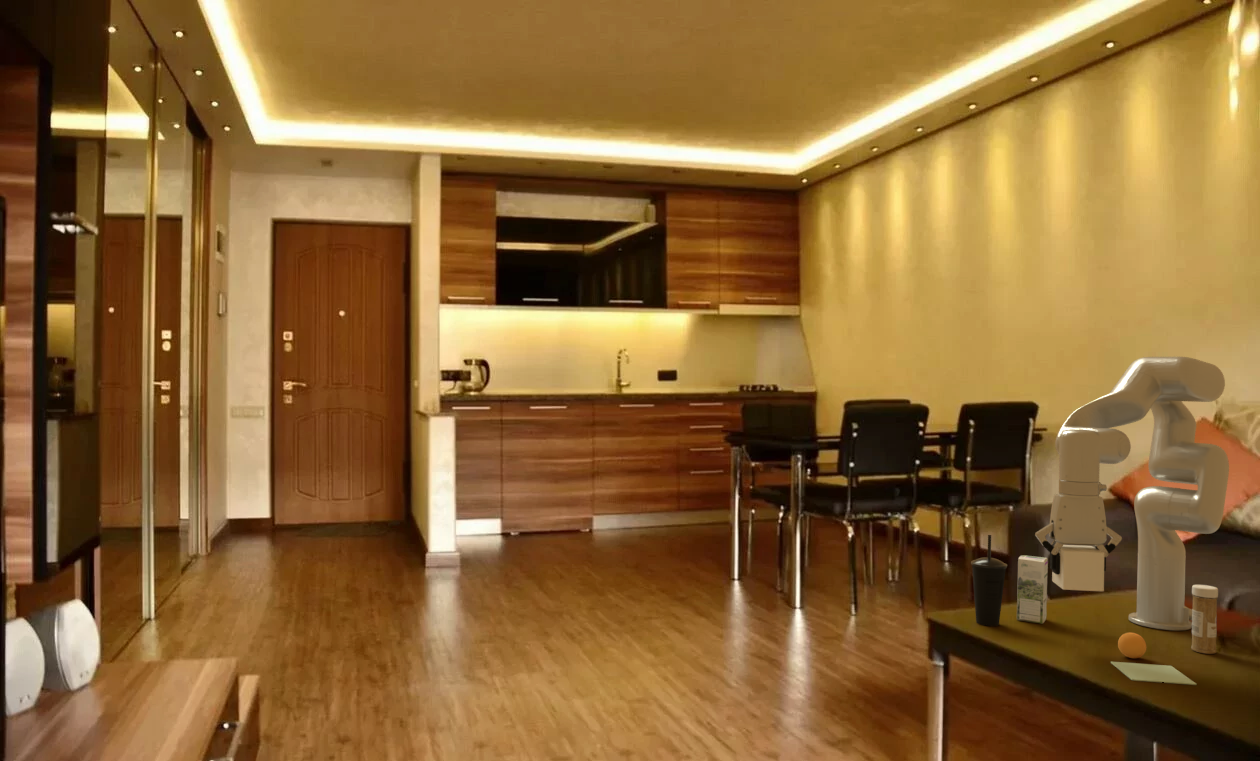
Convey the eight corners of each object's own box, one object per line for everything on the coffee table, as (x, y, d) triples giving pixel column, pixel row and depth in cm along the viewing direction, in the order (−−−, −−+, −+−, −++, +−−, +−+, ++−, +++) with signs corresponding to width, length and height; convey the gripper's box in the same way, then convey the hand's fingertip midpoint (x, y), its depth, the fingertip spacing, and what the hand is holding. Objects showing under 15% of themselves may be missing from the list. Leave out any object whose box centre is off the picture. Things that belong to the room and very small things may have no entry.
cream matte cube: (1090, 582, 192) (1091, 545, 192) (1103, 591, 184) (1104, 552, 184) (1052, 581, 193) (1052, 544, 193) (1063, 589, 186) (1063, 551, 186)
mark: (1171, 666, 177) (1171, 665, 177) (1196, 685, 166) (1196, 683, 166) (1110, 662, 179) (1110, 661, 179) (1131, 680, 168) (1131, 679, 168)
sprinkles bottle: (1219, 655, 186) (1221, 589, 186) (1194, 653, 187) (1195, 587, 187) (1212, 649, 190) (1214, 585, 190) (1187, 647, 191) (1189, 583, 191)
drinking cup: (999, 619, 210) (1001, 533, 210) (1010, 628, 203) (1012, 538, 203) (965, 618, 211) (967, 531, 211) (974, 626, 203) (977, 537, 203)
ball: (1140, 655, 184) (1140, 630, 184) (1150, 662, 180) (1150, 637, 180) (1113, 653, 185) (1114, 628, 185) (1123, 660, 180) (1123, 635, 180)
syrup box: (1046, 619, 212) (1048, 557, 212) (1042, 624, 207) (1044, 560, 207) (1020, 615, 215) (1022, 553, 215) (1016, 620, 210) (1017, 557, 210)
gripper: (1117, 488, 191) (1115, 572, 191) (1029, 485, 194) (1028, 568, 194) (1130, 492, 184) (1129, 580, 184) (1039, 490, 186) (1038, 576, 186)
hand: (1077, 573), depth 189 cm, fingers closed on cream matte cube, 7 cm apart
